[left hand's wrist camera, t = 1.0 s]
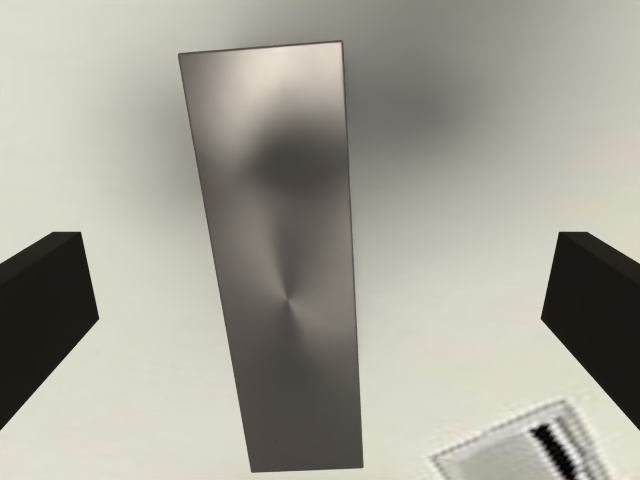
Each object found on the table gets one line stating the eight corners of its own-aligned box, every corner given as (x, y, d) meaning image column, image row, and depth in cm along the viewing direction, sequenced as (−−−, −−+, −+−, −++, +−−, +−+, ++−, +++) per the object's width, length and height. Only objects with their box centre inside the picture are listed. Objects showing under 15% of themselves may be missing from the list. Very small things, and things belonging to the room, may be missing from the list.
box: (231, 58, 25) (176, 53, 16) (337, 50, 25) (342, 39, 16) (272, 361, 33) (250, 473, 24) (353, 356, 33) (363, 468, 24)
